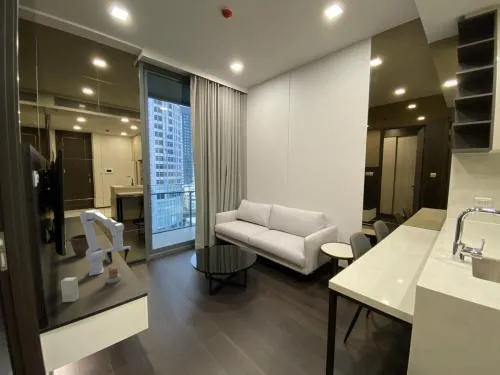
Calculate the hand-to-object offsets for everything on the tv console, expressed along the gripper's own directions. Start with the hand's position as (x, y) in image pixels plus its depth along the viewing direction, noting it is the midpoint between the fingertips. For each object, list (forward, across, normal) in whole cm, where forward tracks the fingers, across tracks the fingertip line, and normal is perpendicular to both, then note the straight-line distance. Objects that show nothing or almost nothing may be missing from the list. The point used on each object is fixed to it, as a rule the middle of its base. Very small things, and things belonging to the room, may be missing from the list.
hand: (118, 261), depth 144 cm
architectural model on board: (+11, -7, +35) cm, 37 cm away
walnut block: (+8, -3, -4) cm, 9 cm away
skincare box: (+11, -23, -18) cm, 31 cm away
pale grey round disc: (+11, -3, -4) cm, 12 cm away
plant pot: (+11, -26, +61) cm, 67 cm away
